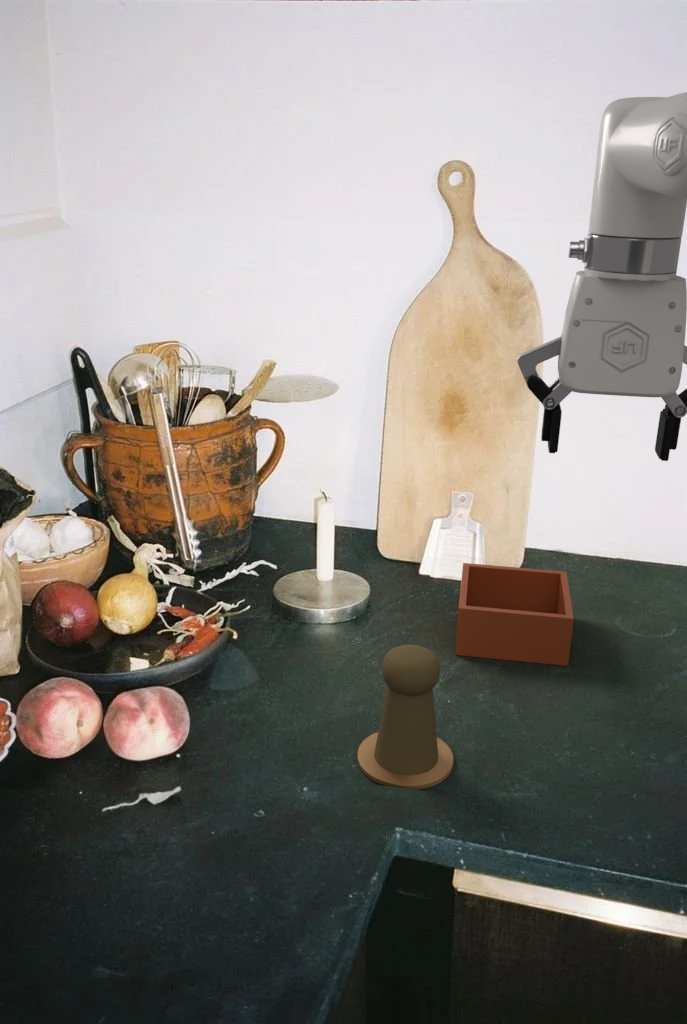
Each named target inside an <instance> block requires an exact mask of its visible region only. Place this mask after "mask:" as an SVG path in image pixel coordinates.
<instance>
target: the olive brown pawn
mask: <svg viewBox="0 0 687 1024" xmlns="http://www.w3.org/2000/svg"><path fill="white" fill-rule="evenodd" d="M440 669H441V666H440V661H439V659H438V658H437V656H436V654H435V653H434V652H433V651H432V650H431V649H428V648H426V647H425V646H421V645H417V644H402V645H399V646H394V647H393V648H391V649H390V650H389V651H388V652H387V653H386V655H385V656H384V658H383V661H382V666H381V674H382V677H383V680H384V683H385V684H386V691H385V694H384V701H383V706H382V710H381V717H380V722H379V727H378V731H377V732H378V736H377V741H376V746H375V752H374V757H375V760H376V762H377V763H378V764H379V765H380V766H381V767H382V768H384V769H386V770H387V771H389V772H392V773H396V774H399V775H419V774H422V773H425V772H428V771H429V770H431V769H432V768H434V767H435V765H436V764H437V762H438V747H437V737H438V735H437V725H436V713H435V711H436V710H435V701H434V700H435V699H434V687H436V685H437V684H438V681H439V678H440V672H441V671H440Z"/></svg>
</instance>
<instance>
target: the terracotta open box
mask: <svg viewBox="0 0 687 1024" xmlns="http://www.w3.org/2000/svg"><path fill="white" fill-rule="evenodd" d="M459 590H460V591H459V601H458V610H457V611H458V613H457V624H456V625H457V626H456V637H455V639H456V640H455V651H454V655H455V656H461V657H470V658H471V657H472V658H481V659H491V660H492V659H493V660H501V661H502V660H503V661H511V662H512V661H513V662H514V661H515V662H522V663H534V664H543V665H553V666H564V667H568V666H569V661H570V654H571V646H572V637H573V628H574V622H575V618H574V617H575V616H574V610H573V604H572V603H573V602H572V596H571V592H570V583H569V578H568V572H567V571H565V570H564V571H563V570H552V569H539V568H529V567H516V566H515V567H514V566H507V565H506V566H504V565H492V564H481V563H468V562H463V563H462V571H461V580H460V589H459Z"/></svg>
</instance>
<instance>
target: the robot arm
mask: <svg viewBox="0 0 687 1024" xmlns="http://www.w3.org/2000/svg"><path fill="white" fill-rule="evenodd" d="M599 126H600V127H599V134H598V135H599V136H598V145H597V151H596V161H595V170H594V171H595V172H594V180H593V187H592V188H593V189H592V198H591V204H590V205H591V206H590V214H589V215H590V216H589V224H588V233H587V234H586V237H583V239H582V240H580V239H579V240H578V241H569V246H568V254H567V255H568V259H576V260H578V261H581V263H583V265H584V267H583V270H579V271H576V272H575V276H574V278H573V282H572V284H571V288H570V292H569V297H568V302H567V305H566V309H565V313H564V320H563V324H562V330H561V331H562V332H561V336H558V337H556V338H554V339H552V340H549V341H546V342H545V343H543V344H540V345H538V346H535V347H534V348H533V347H532V349H529V350H526V351H524V352H522V353H520V354H518V356H517V358H516V359H517V365H518V368H519V370H520V372H521V374H522V376H523V379H524V381H525V383H526V387H527V388H528V390H529V391H530V392H531V393H532V394H533V395H534V396H535V398H536V399H537V400H538V401H539V402H540V403H541V405H542V406H543V414H542V415H543V417H542V426H541V436H540V437H541V438H540V439H541V442H547V449H548V453H549V454H556V453H558V449H559V440H560V433H561V424H562V423H561V422H562V413H563V411H562V407H561V402H562V401H563V400H565V399H566V398H567V397H568V396H569V395H570V394H571V393H572V392H573V393H577V394H578V393H579V394H588V395H603V396H617V397H618V396H619V397H620V396H621V397H637V398H638V397H639V398H661V399H662V401H663V402H664V403H665V405H664V408H662V410H660V412H659V420H658V426H657V432H656V438H655V439H656V440H655V446H654V452H655V454H656V456H657V457H658V459H659V460H661V462H668V461H669V457H670V451H671V450H674V451H676V449H677V447H678V441H679V435H680V429H681V423H682V418H684V417H685V416H686V415H687V388H685V389H684V390H683V391H681V392H680V393H679V394H678V393H677V391H678V389H679V387H680V385H681V384H680V383H681V380H682V379H681V378H682V373H683V364H685V365H686V366H687V345H685V344H686V343H685V342H686V331H687V329H686V328H687V279H686V278H685V277H682V276H681V275H677V274H678V273H677V271H678V265H679V258H680V252H681V246H682V245H681V244H682V237H683V233H684V225H685V218H686V212H687V91H685V92H682V93H678V94H674V95H670V96H662V97H661V96H634V97H624V98H617V99H615V100H613V101H611V102H610V103H609V104H608V105H607V106H606V108H605V109H604V111H603V113H602V115H601V120H600V125H599ZM555 357H558V358H557V372H558V377H557V378H556V379H555V380H554V381H553V382H552V383H551V384H549V385H547V383H546V382H545V381H544V379H542V378H541V376H540V375H539V372H538V370H537V366H538V365H539V364H541V363H544V362H545V361H548V360H550V359H553V358H555Z"/></svg>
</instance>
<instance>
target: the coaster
mask: <svg viewBox="0 0 687 1024" xmlns="http://www.w3.org/2000/svg"><path fill="white" fill-rule="evenodd" d="M377 736H378V731H377V732H373V733H372V734H370V735H369V736H367V737H366V738H364V740H363V741H362V742H361V743H360V744H359V747H358V749H357V757H356V758H357V763H358V767H359V768H360V770H361V772H362V773H363V774H364V775H365V776H366V777H368V778H369V779H370V780H372V781H373V782H375V783H377V784H379V785H381V786H384V787H391V788H399V789H408V790H415V791H417V790H419V791H420V790H425V789H429V788H432V787H435V786H437V785H439V784H440V783H442V782H444V781H445V780H446V779H447V778H448V777H449V776H450V774H451V773H452V772H453V768H454V754H453V752H452V749H451V748H450V746H449V745H448V744H447V743H446V742H445V741H444V740H443V739H441V738H440V737H438V736H437V747H438V762H437V764H436V765H435V767H434V768H432V769H431V770H429V771H428V772H425V773H422V774H419V775H399V774H396V773H392V772H389V771H387V770H386V769H384V768H382V767H381V766H380V765H379V764H378V763H377V762H376V760H375V757H374V752H375V746H376V741H377Z"/></svg>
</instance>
